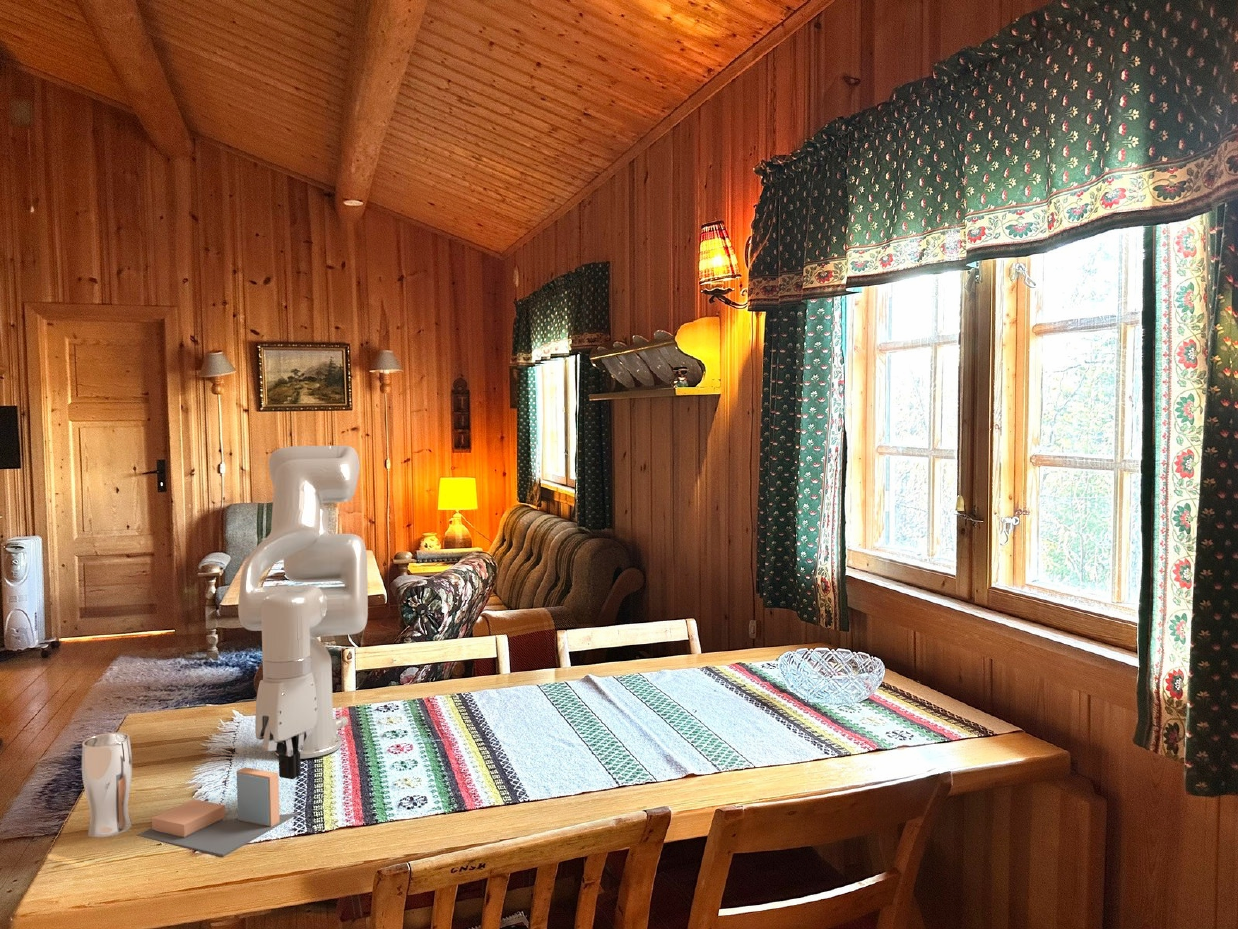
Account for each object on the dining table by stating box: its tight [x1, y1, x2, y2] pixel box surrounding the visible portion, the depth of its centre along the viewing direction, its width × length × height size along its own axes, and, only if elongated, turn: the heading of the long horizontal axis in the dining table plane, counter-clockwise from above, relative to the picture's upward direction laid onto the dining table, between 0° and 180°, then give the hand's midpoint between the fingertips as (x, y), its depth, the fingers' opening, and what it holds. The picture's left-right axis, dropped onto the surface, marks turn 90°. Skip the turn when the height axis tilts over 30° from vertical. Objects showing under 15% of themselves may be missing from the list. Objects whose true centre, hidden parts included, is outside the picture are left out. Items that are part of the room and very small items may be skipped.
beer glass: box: [81, 731, 133, 838], centre depth 146 cm, size 7×7×15 cm
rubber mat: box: [137, 812, 300, 858], centre depth 149 cm, size 18×18×1 cm
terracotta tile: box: [151, 798, 226, 837], centre depth 148 cm, size 2×7×8 cm
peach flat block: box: [236, 766, 281, 827], centre depth 148 cm, size 2×7×8 cm, turn 66°
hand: (290, 776), depth 155 cm, fingers closed
